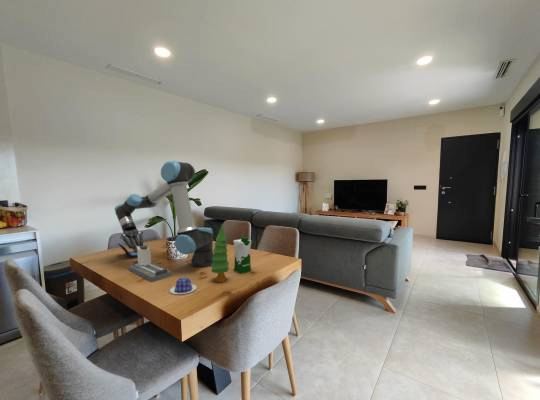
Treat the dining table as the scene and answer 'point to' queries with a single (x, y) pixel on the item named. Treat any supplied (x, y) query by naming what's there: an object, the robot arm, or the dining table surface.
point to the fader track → (150, 271)
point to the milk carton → (242, 255)
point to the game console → (130, 254)
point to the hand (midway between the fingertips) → (140, 256)
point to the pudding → (183, 286)
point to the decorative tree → (220, 256)
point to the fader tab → (144, 256)
